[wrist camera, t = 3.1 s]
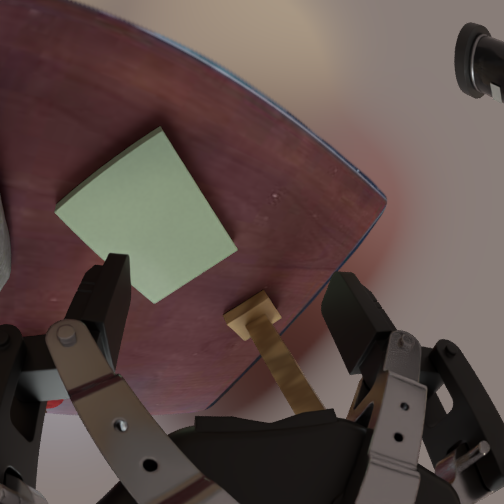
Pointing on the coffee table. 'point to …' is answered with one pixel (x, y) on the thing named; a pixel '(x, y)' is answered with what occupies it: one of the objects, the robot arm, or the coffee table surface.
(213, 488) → the robot arm
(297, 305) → the coffee table surface
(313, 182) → the coffee table surface
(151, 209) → the pale green rectangular panel
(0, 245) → the seashell
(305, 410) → the stand
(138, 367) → the coffee table surface
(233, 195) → the coffee table surface
